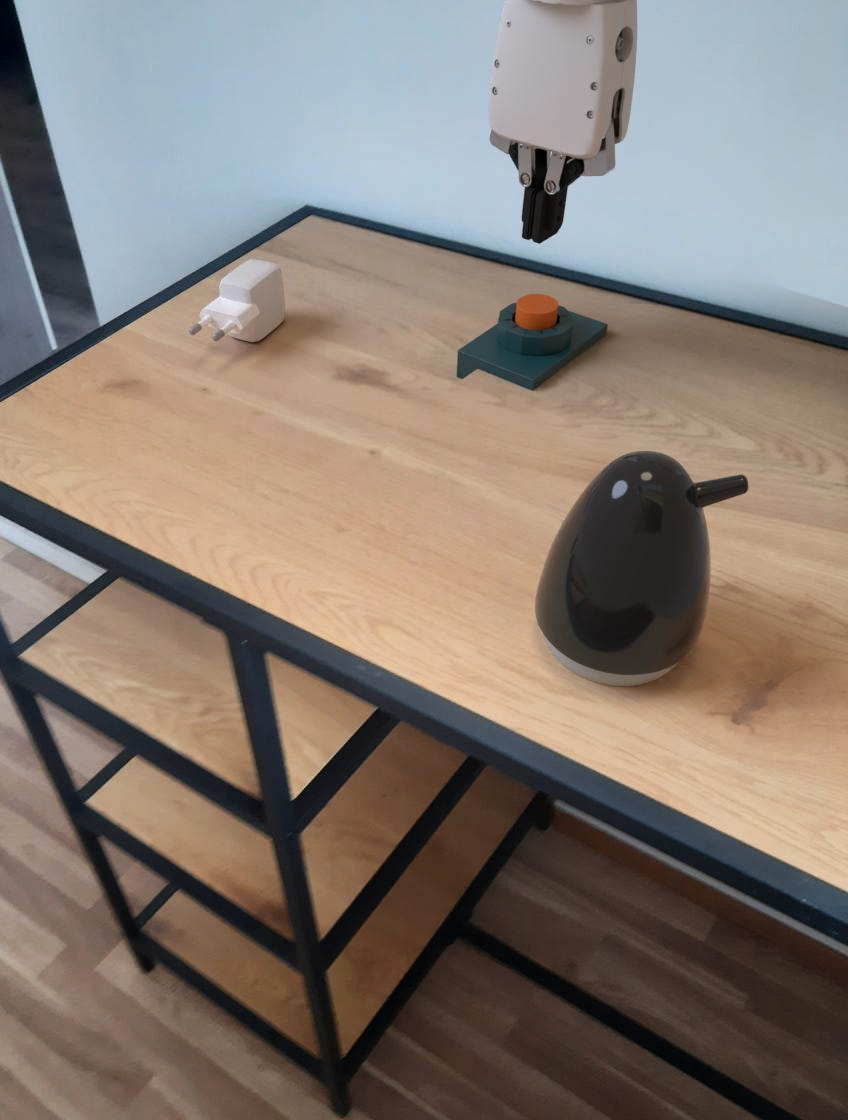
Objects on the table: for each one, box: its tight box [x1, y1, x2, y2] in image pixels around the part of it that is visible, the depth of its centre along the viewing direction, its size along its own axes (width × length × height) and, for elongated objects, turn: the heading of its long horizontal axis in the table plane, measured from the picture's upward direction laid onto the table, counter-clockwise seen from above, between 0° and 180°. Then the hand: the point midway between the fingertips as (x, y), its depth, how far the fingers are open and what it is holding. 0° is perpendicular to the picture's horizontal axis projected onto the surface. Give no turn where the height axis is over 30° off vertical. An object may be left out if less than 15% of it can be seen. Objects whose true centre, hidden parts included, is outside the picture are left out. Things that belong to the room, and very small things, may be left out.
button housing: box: [456, 302, 609, 392], centre depth 84 cm, size 12×8×4 cm, turn 139°
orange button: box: [515, 293, 560, 331], centre depth 82 cm, size 4×4×2 cm
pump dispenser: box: [534, 450, 750, 687], centre depth 55 cm, size 10×10×15 cm
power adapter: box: [188, 258, 287, 343], centre depth 88 cm, size 11×5×6 cm, turn 151°
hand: (540, 235), depth 77 cm, fingers closed
